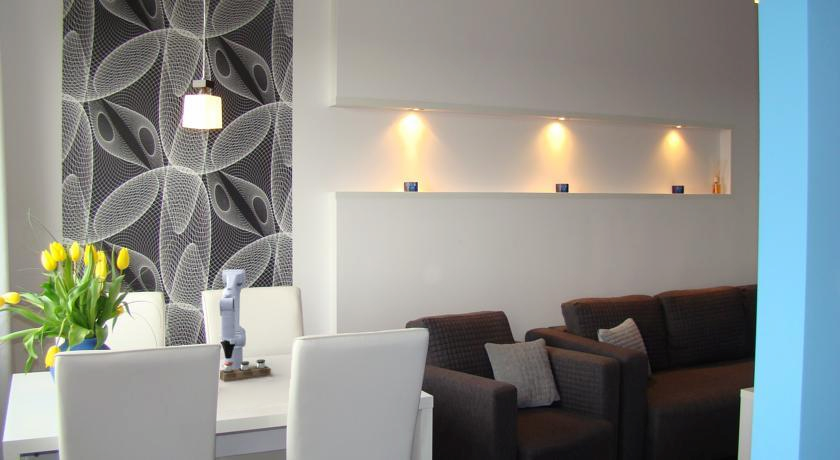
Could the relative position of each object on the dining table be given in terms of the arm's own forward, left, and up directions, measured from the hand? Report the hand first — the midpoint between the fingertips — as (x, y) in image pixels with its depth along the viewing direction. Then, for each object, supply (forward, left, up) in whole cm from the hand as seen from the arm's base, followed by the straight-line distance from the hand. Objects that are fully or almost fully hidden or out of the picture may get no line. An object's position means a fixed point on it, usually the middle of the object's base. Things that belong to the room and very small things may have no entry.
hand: (228, 358), depth 306 cm
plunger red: (0, 0, -7) cm, 7 cm away
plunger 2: (0, +14, -8) cm, 16 cm away
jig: (0, +7, -9) cm, 11 cm away
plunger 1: (0, +7, -8) cm, 11 cm away
